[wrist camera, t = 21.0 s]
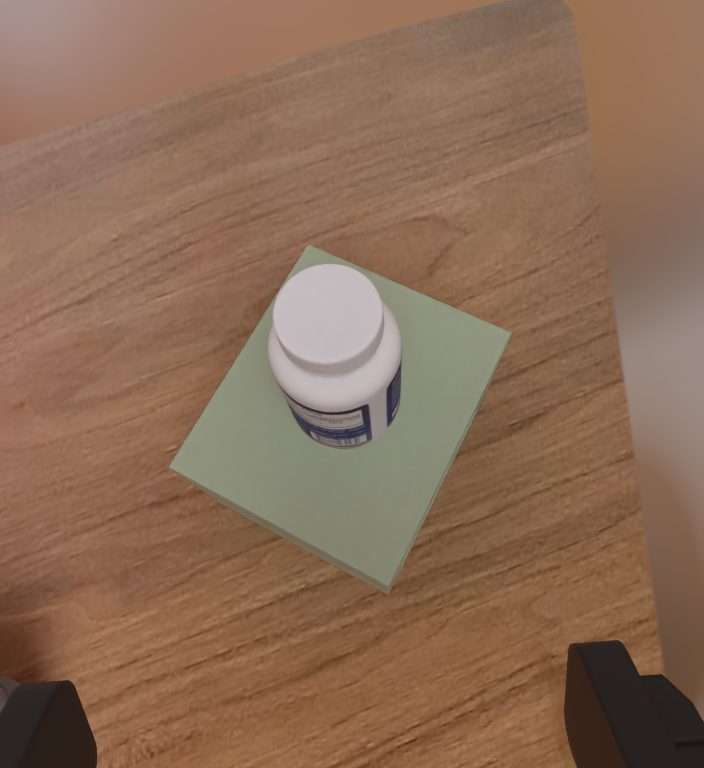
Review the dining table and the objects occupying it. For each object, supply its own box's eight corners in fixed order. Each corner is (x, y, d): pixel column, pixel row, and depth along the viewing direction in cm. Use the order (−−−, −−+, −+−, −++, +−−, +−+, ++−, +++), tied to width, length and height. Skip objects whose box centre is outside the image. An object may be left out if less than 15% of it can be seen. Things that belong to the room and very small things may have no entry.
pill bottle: (350, 330, 33) (336, 219, 24) (422, 402, 32) (436, 313, 23) (269, 396, 32) (222, 307, 23) (340, 475, 31) (319, 413, 21)
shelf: (484, 396, 42) (512, 332, 33) (388, 595, 38) (388, 587, 29) (324, 322, 45) (307, 243, 35) (218, 502, 41) (167, 466, 31)
